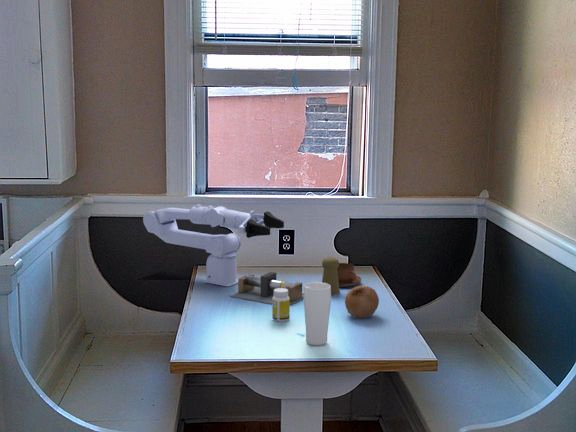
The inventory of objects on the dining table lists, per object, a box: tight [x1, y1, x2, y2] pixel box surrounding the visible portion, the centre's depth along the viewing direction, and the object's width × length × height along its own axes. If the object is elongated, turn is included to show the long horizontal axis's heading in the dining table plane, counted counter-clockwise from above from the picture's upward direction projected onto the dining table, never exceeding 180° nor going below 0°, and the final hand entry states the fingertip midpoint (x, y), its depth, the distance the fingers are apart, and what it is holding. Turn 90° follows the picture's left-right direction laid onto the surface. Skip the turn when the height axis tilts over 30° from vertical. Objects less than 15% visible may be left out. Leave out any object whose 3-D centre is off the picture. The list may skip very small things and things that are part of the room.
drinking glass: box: [303, 281, 332, 347], centre depth 183 cm, size 7×7×15 cm
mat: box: [229, 287, 304, 306], centre depth 223 cm, size 20×14×1 cm
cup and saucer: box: [337, 262, 362, 288], centre depth 237 cm, size 12×12×6 cm
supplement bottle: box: [271, 288, 291, 323], centre depth 201 cm, size 5×5×8 cm
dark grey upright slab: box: [260, 271, 277, 296], centre depth 223 cm, size 2×6×6 cm, turn 150°
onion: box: [344, 285, 380, 319], centre depth 204 cm, size 10×9×10 cm
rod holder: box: [237, 273, 303, 303], centre depth 223 cm, size 19×6×5 cm, turn 60°
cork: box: [321, 257, 341, 296], centre depth 226 cm, size 6×6×11 cm
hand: (276, 228), depth 223 cm, fingers open, 7 cm apart
